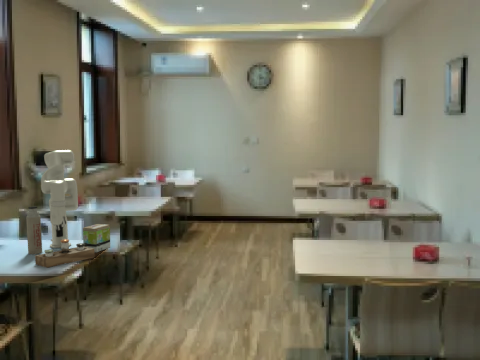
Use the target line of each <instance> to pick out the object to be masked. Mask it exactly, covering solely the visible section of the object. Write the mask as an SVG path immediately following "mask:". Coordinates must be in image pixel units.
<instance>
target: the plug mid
mask: <svg viewBox="0 0 480 360" xmlns="http://www.w3.org/2000/svg"><path fill="white" fill-rule="evenodd" d="M60 241H61V248H60V249H61V250H62V253H63V254H64V253H69V249H70V246H69V243H70V239H69V238H68V239H63V240H60Z"/></svg>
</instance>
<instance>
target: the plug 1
mask: <svg viewBox="0 0 480 360" xmlns="http://www.w3.org/2000/svg"><path fill="white" fill-rule="evenodd" d="M53 252H54V249H45V250H44V254H45V257H50V256H53Z"/></svg>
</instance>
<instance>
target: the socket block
mask: <svg viewBox="0 0 480 360" xmlns="http://www.w3.org/2000/svg"><path fill="white" fill-rule="evenodd" d="M95 253H96V252H94V249H93V248H89V247H84V250H77V246H76V247H75V246H74V247H69V253H64V254H63V253H62V250H56V251H53V256H50V257H45V253H40V254H34V258H35V259H34V261H35V265H36V266H39V267H43V268H51V267H57V266H61V265H66V264H70V263H76V262H80V261H83V260H88V259H94V258H95Z"/></svg>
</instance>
